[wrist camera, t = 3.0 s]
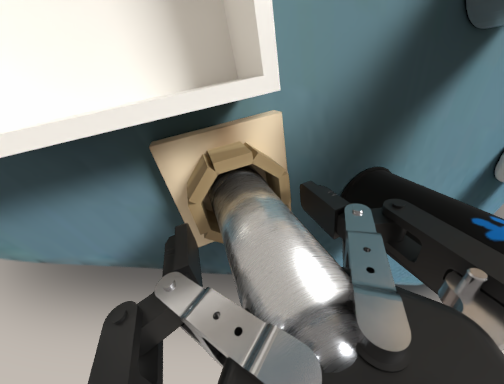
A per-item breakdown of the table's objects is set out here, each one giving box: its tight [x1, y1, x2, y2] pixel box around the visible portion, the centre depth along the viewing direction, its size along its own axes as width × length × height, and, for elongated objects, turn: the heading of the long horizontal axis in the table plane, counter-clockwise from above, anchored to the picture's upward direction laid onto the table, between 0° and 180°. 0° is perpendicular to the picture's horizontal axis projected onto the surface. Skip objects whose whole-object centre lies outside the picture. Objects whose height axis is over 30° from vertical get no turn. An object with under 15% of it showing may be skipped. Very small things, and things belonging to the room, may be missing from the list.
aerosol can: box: [341, 167, 504, 294], centre depth 17 cm, size 8×8×20 cm
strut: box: [208, 165, 358, 373], centre depth 11 cm, size 5×5×14 cm
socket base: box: [149, 110, 291, 247], centre depth 16 cm, size 10×10×4 cm
